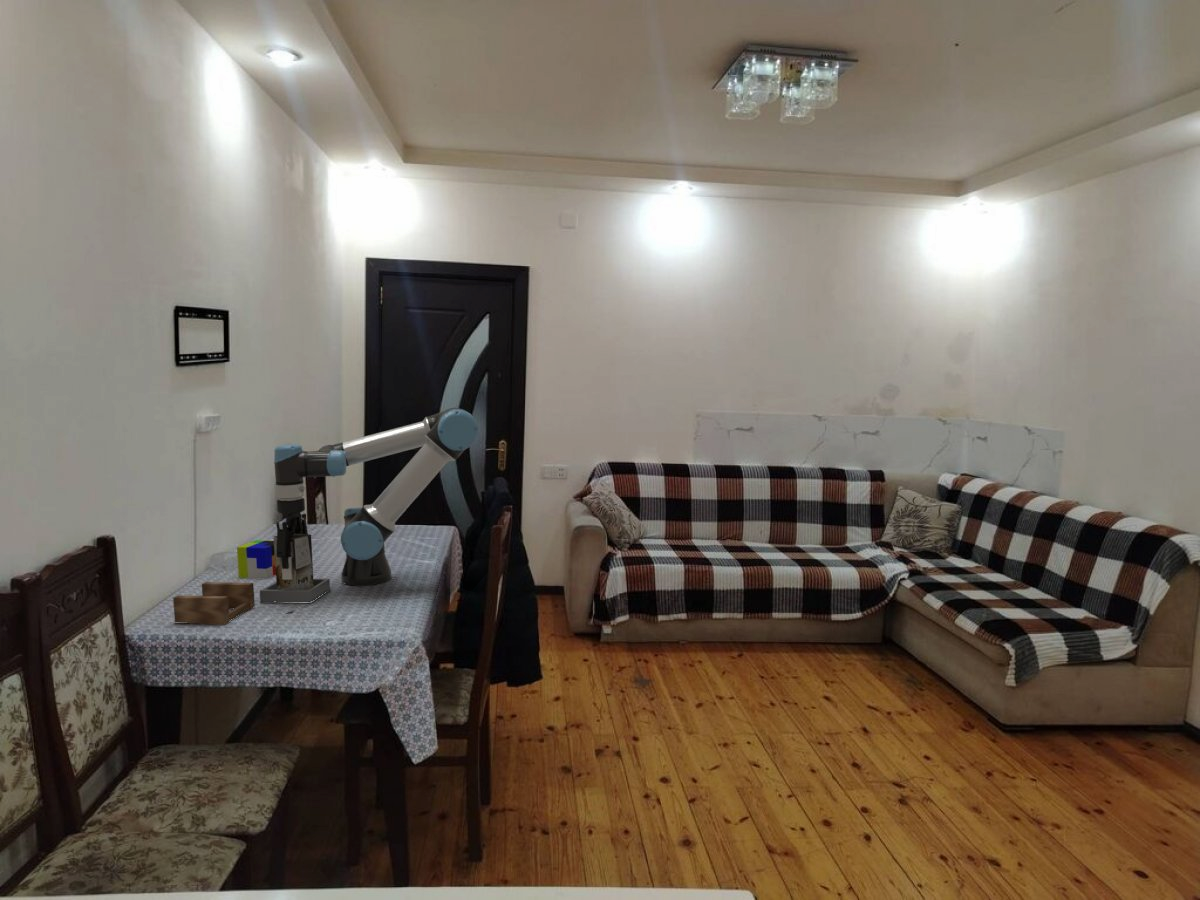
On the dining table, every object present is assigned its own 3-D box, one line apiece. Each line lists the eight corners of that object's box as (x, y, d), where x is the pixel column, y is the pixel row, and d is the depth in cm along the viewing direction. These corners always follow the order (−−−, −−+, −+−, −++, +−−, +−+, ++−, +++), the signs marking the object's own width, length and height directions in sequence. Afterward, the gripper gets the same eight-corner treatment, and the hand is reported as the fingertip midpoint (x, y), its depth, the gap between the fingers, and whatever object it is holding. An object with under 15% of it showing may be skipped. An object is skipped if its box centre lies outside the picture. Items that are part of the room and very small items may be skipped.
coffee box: (315, 588, 238) (312, 534, 236) (297, 594, 232) (294, 538, 230) (293, 584, 242) (290, 531, 240) (275, 589, 237) (272, 535, 235)
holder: (254, 607, 228) (253, 582, 227) (225, 624, 213) (223, 598, 212) (207, 606, 229) (205, 582, 228) (174, 623, 214) (173, 597, 213)
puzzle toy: (266, 579, 257) (264, 548, 256) (238, 577, 259) (236, 547, 258) (285, 571, 267) (283, 541, 266) (257, 569, 269) (256, 540, 268)
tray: (330, 590, 243) (329, 578, 243) (310, 603, 230) (310, 591, 230) (282, 589, 244) (281, 578, 244) (260, 602, 232) (259, 590, 231)
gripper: (285, 504, 223) (290, 585, 226) (318, 492, 244) (322, 566, 247) (259, 504, 224) (264, 584, 227) (294, 492, 245) (298, 565, 247)
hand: (294, 575), depth 237 cm, fingers closed on coffee box, 8 cm apart
